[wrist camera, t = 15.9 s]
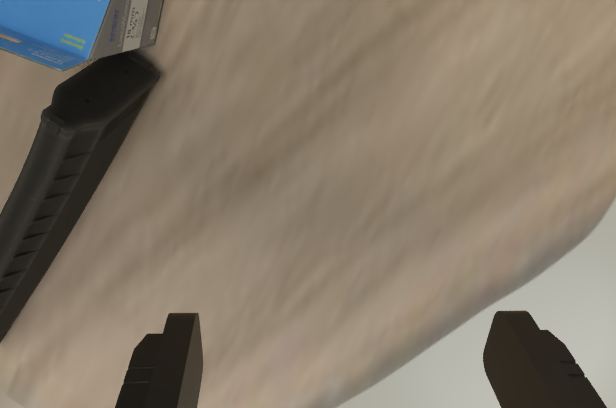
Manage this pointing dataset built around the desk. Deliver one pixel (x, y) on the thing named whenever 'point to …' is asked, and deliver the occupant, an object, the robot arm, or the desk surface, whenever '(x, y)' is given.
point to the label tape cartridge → (77, 29)
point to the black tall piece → (66, 169)
